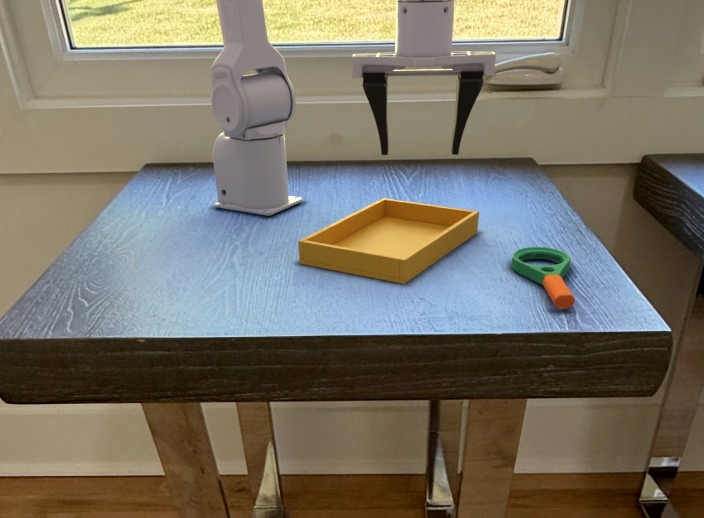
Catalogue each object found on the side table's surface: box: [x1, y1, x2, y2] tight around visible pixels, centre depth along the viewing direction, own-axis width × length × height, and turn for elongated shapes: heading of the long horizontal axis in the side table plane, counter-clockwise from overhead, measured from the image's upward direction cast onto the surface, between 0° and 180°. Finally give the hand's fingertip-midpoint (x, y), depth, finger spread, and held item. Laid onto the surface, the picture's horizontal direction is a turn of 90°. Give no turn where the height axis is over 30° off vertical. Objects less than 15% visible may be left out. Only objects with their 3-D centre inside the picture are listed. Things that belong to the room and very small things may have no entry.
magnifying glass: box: [511, 246, 576, 310], centre depth 72 cm, size 15×6×2 cm, turn 179°
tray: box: [297, 197, 480, 285], centre depth 82 cm, size 13×19×2 cm
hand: (419, 153), depth 78 cm, fingers open, 7 cm apart
